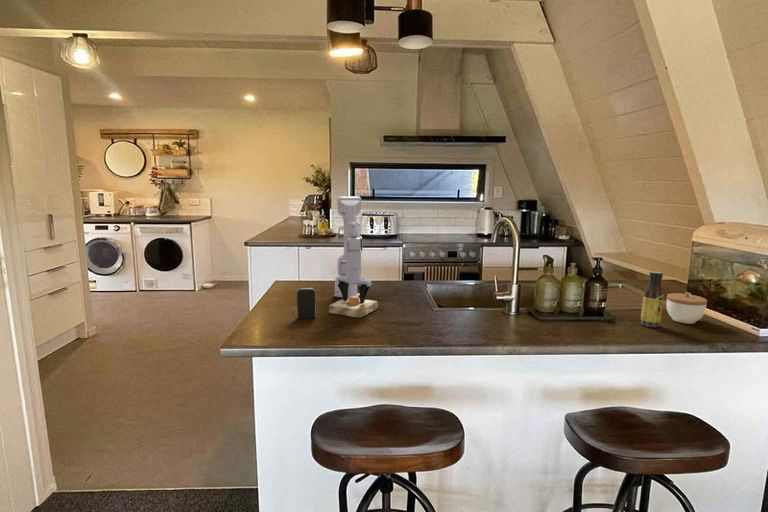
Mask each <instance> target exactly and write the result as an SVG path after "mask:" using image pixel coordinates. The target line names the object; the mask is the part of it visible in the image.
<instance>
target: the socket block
mask: <svg viewBox="0 0 768 512" xmlns="http://www.w3.org/2000/svg"><path fill="white" fill-rule="evenodd" d="M377 308H378V309H379V305H378V301H377V300H373V299H372V300H371V299H365V301H364V303H362V304H360V298H359V305H357V306H353V305H349V297H348V300H346V301H343V298H342V299H339V300H337V301H335V302H333V303H330V304H329V305H328V313H329V314H336V315H342V316H348V317H353V318H357V317H358V318H359V319H361V317H362V318H363V317H365V316H366V315H369V314H371V313H372V312H374V311H376V310H378V309H377ZM370 312H371V313H370ZM368 313H369V314H368ZM358 318H357V319H358Z"/></svg>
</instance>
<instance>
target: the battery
mask: <svg viewBox="0 0 768 512" xmlns="http://www.w3.org/2000/svg"><path fill="white" fill-rule="evenodd" d="M316 296H317V293H316V289H315V288H314V287H299V288H298V289H297V291H296V308H297V309H296V311H297V315H296V316H297V317H296V318H297V319H301V320H303V319H315V318H317V317H316V314H317V312H316V310H317V309H316V307H317V306H316V305H317V297H316Z"/></svg>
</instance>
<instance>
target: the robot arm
mask: <svg viewBox="0 0 768 512" xmlns="http://www.w3.org/2000/svg"><path fill="white" fill-rule="evenodd" d="M336 199H337V204H336V205H337V215H338V216H340V217H342V220H343V254H342V255H340V256H339V257H338V258H337V276H336V277H335V281H334V294H333V296H334V297H338V298H342V299H343V301H346V300H348V297H350V296H358V297H359V299H360V304H362V303H364V301H365V300H366V297H367V293H368V291H369V289H370V288H371V286H372V280H369V279H365V278H362V252H363V248H364V247H363V246H364V243H363V237H362V235H361V231H360V225H359V223H357V216H359V215H360V213H361V210H362V197H360V196H341V195H339V196H337V198H336ZM358 285H359V286H358ZM358 291H359V293H358Z"/></svg>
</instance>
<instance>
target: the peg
mask: <svg viewBox="0 0 768 512" xmlns="http://www.w3.org/2000/svg"><path fill="white" fill-rule="evenodd" d="M359 299H360V296H350V297H349V305H353V306H357V305H359Z"/></svg>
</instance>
